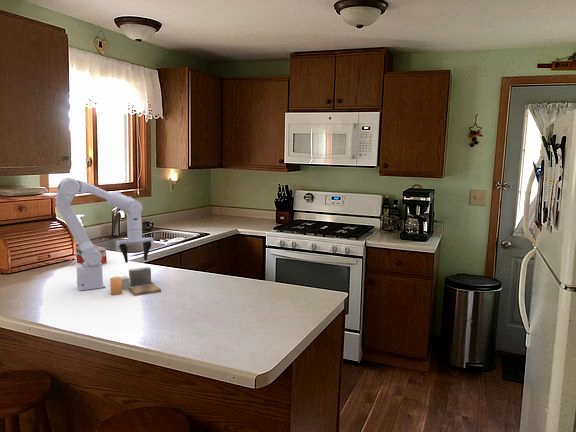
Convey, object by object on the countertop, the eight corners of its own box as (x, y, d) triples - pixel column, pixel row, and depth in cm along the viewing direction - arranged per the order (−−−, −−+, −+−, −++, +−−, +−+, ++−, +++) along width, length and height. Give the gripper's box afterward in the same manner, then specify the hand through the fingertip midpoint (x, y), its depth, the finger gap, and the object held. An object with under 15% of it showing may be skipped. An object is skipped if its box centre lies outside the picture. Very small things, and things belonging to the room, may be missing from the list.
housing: (130, 287, 189) (129, 271, 189) (127, 284, 193) (127, 269, 192) (153, 283, 194) (152, 268, 193) (150, 281, 198) (149, 266, 197)
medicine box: (107, 263, 232) (106, 247, 231) (91, 266, 226) (90, 250, 225) (91, 259, 242) (90, 244, 241) (75, 262, 236) (74, 246, 235)
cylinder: (112, 295, 178) (111, 280, 177) (110, 293, 181) (109, 277, 180) (123, 294, 180) (122, 278, 179) (121, 291, 183) (120, 276, 182)
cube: (118, 291, 184) (118, 279, 183) (116, 288, 187) (116, 277, 187) (129, 289, 186) (128, 278, 185) (127, 287, 189) (126, 276, 189)
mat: (134, 295, 177) (133, 293, 177) (128, 290, 185) (128, 287, 185) (160, 291, 182) (160, 289, 182) (154, 286, 190) (154, 284, 190)
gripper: (149, 226, 203) (151, 257, 205) (114, 228, 196) (115, 261, 197) (154, 228, 197) (155, 260, 199) (117, 231, 190) (119, 264, 191)
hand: (136, 261), depth 198 cm, fingers open, 7 cm apart
